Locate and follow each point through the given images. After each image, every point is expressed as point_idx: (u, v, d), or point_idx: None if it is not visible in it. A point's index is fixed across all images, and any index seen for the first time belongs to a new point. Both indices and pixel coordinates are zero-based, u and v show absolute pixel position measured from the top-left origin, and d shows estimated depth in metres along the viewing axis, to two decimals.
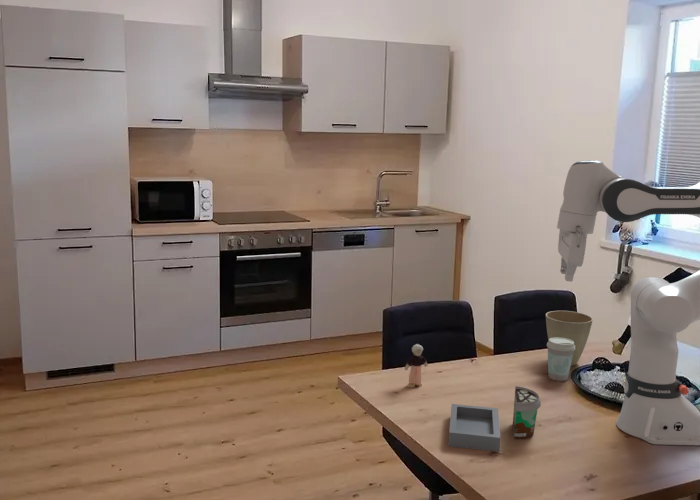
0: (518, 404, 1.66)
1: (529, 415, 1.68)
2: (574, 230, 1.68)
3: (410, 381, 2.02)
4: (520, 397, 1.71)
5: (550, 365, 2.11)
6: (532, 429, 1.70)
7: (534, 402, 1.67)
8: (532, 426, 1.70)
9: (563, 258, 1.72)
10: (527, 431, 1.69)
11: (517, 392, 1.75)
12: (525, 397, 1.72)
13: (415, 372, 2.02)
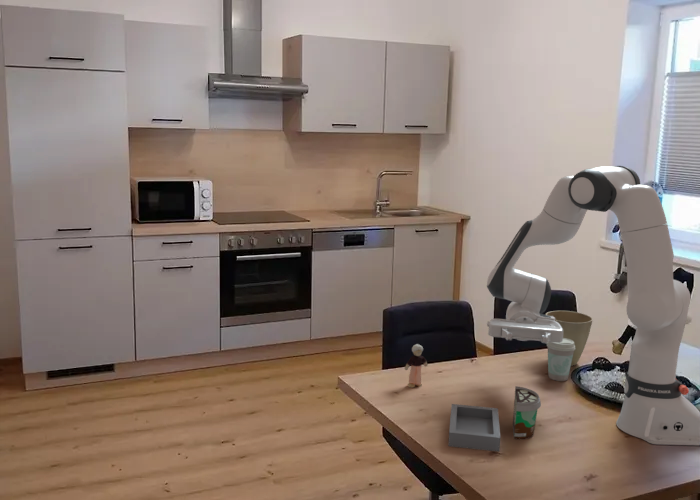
0: (518, 404, 1.66)
1: (529, 415, 1.68)
2: None
3: (410, 381, 2.02)
4: (521, 397, 1.71)
5: (550, 365, 2.11)
6: (532, 429, 1.70)
7: (534, 402, 1.67)
8: (532, 426, 1.70)
9: (517, 338, 1.89)
10: (527, 431, 1.69)
11: (517, 392, 1.75)
12: (526, 397, 1.72)
13: (415, 372, 2.02)
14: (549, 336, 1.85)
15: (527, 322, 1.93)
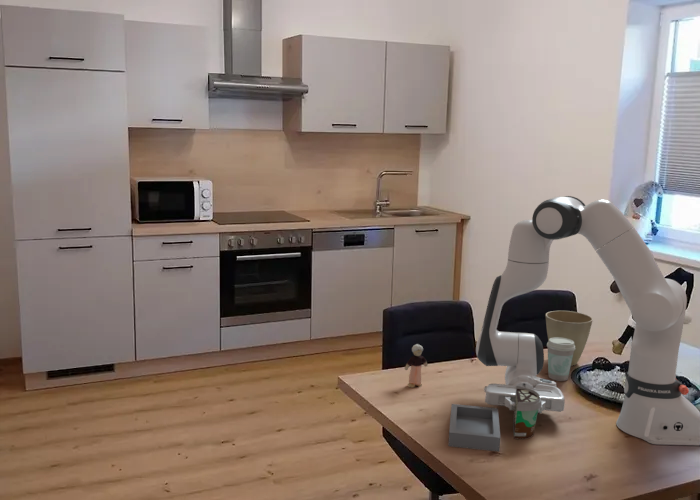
0: (519, 404, 1.66)
1: (529, 415, 1.68)
2: None
3: (410, 381, 2.02)
4: (521, 397, 1.71)
5: (550, 365, 2.11)
6: (532, 429, 1.70)
7: (535, 402, 1.67)
8: (533, 426, 1.70)
9: None
10: (527, 430, 1.69)
11: (518, 392, 1.75)
12: (526, 397, 1.72)
13: (415, 372, 2.02)
14: (543, 405, 1.75)
15: None
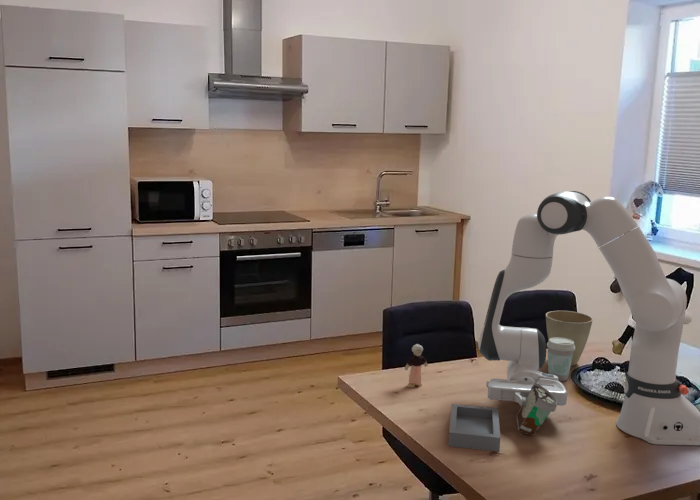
0: (539, 400, 1.65)
1: (542, 414, 1.67)
2: None
3: (410, 381, 2.02)
4: (540, 394, 1.70)
5: (550, 365, 2.11)
6: (538, 428, 1.70)
7: (553, 404, 1.67)
8: (539, 426, 1.69)
9: None
10: (533, 427, 1.68)
11: (535, 388, 1.74)
12: (543, 396, 1.71)
13: (415, 372, 2.02)
14: None
15: (528, 383, 1.82)
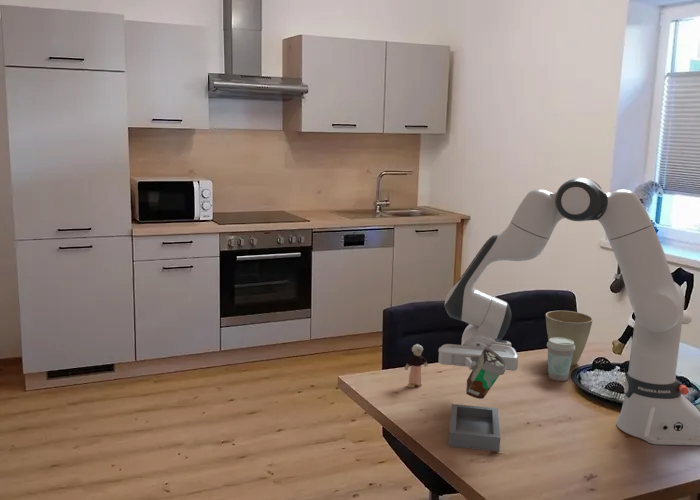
0: (486, 363, 1.62)
1: (490, 378, 1.64)
2: None
3: (410, 381, 2.02)
4: (488, 358, 1.67)
5: (550, 365, 2.11)
6: (486, 392, 1.67)
7: (501, 367, 1.64)
8: (487, 389, 1.67)
9: None
10: (481, 391, 1.66)
11: (485, 352, 1.71)
12: (493, 360, 1.68)
13: (415, 372, 2.02)
14: None
15: (481, 348, 1.80)
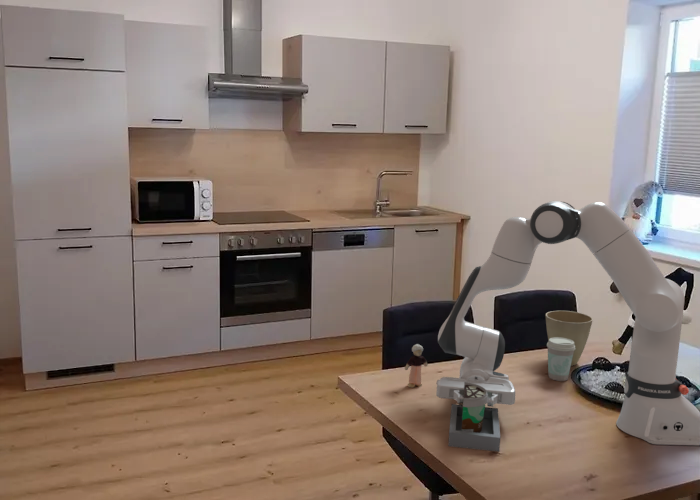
0: (465, 400, 1.65)
1: (476, 411, 1.66)
2: None
3: (410, 381, 2.02)
4: (468, 393, 1.70)
5: (550, 365, 2.11)
6: (480, 425, 1.69)
7: (481, 398, 1.66)
8: (480, 422, 1.68)
9: None
10: (474, 426, 1.67)
11: (466, 388, 1.74)
12: (473, 393, 1.71)
13: (415, 372, 2.02)
14: (495, 398, 1.74)
15: (478, 381, 1.81)
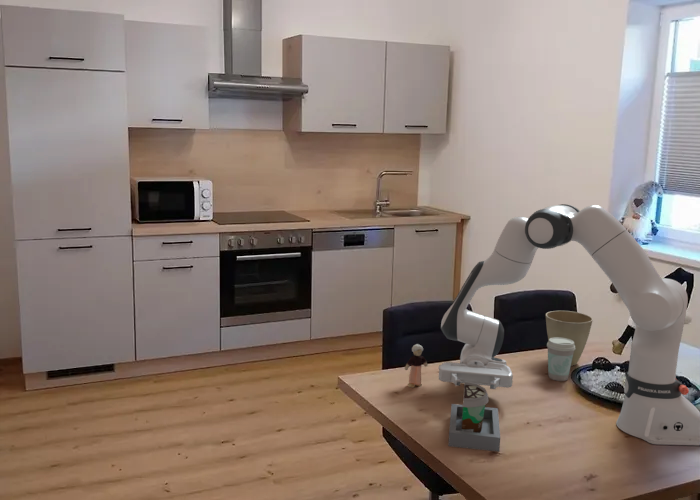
0: (465, 400, 1.65)
1: (476, 411, 1.66)
2: None
3: (410, 381, 2.02)
4: (468, 393, 1.70)
5: (550, 365, 2.11)
6: (480, 425, 1.69)
7: (481, 398, 1.66)
8: (480, 422, 1.68)
9: None
10: (474, 427, 1.67)
11: (466, 388, 1.74)
12: (473, 393, 1.71)
13: (415, 372, 2.02)
14: (498, 381, 1.85)
15: (478, 366, 1.93)
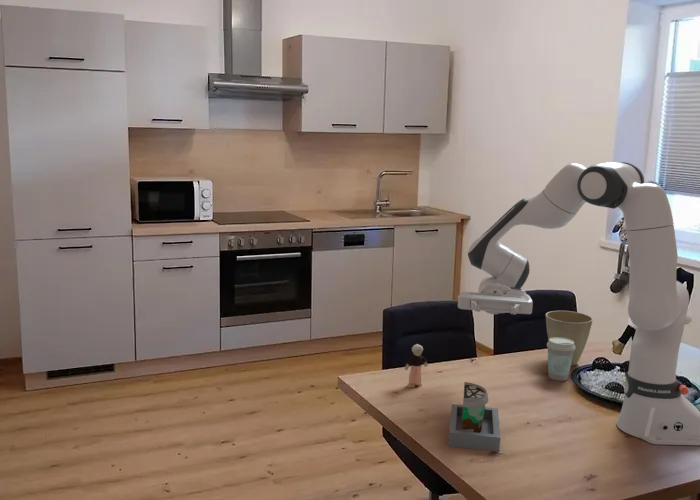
0: (465, 400, 1.65)
1: (476, 411, 1.66)
2: None
3: (410, 381, 2.02)
4: (468, 393, 1.70)
5: (550, 365, 2.11)
6: (480, 425, 1.69)
7: (481, 398, 1.66)
8: (480, 422, 1.68)
9: (487, 311, 1.88)
10: (474, 427, 1.67)
11: (466, 388, 1.74)
12: (473, 393, 1.71)
13: (415, 372, 2.02)
14: (518, 307, 1.84)
15: (497, 295, 1.92)
